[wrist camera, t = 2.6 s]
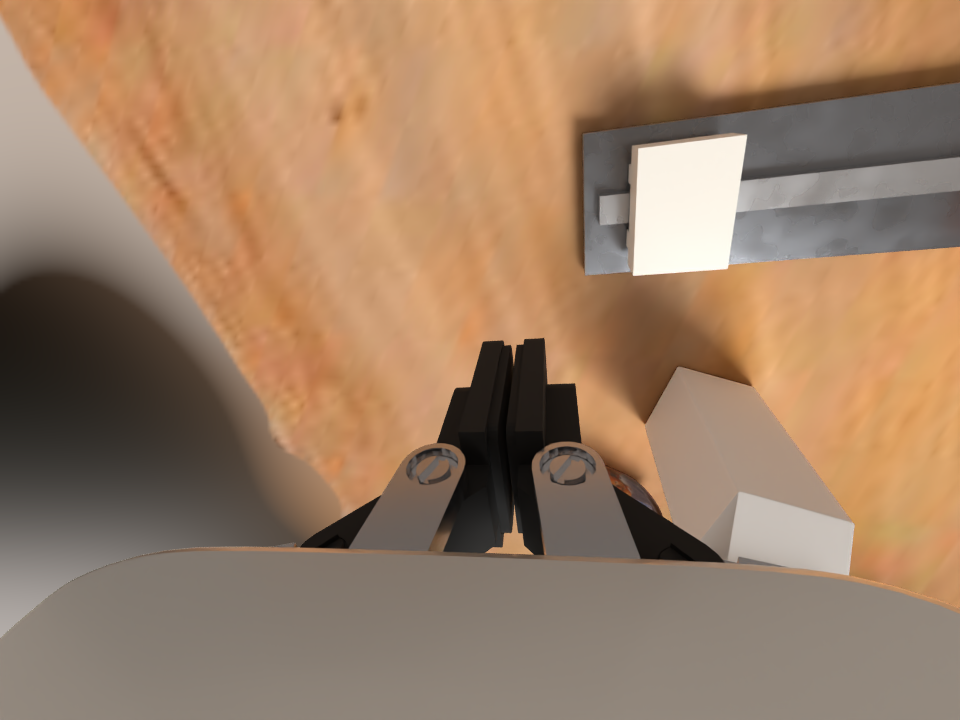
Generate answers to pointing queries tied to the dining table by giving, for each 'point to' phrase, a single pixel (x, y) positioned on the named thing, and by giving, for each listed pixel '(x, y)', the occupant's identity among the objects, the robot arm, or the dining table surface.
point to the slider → (683, 203)
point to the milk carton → (743, 478)
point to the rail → (805, 177)
